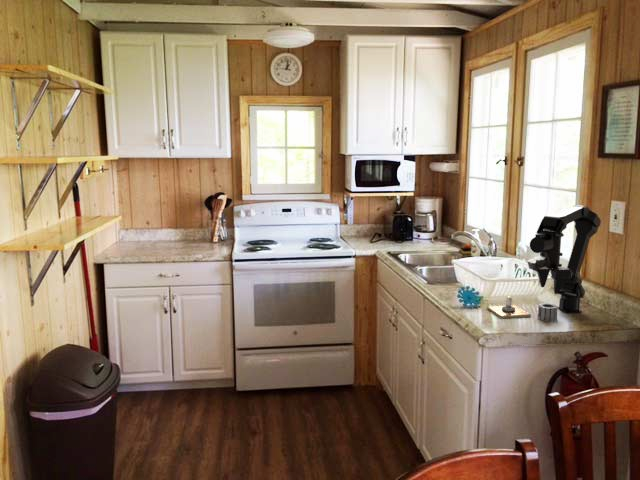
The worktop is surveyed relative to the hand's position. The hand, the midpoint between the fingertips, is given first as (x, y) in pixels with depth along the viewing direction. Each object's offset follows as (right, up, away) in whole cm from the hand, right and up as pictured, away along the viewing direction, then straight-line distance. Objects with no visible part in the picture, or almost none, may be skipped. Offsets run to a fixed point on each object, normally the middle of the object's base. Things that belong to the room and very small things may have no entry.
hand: (549, 290), depth 206 cm
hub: (0, -11, +2) cm, 11 cm away
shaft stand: (-12, -10, +9) cm, 18 cm away
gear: (-25, -8, +19) cm, 32 cm away
